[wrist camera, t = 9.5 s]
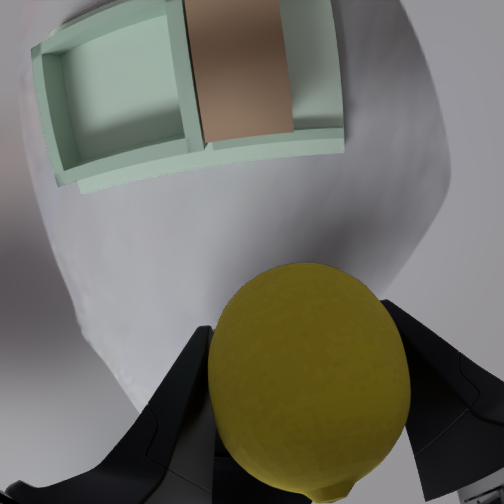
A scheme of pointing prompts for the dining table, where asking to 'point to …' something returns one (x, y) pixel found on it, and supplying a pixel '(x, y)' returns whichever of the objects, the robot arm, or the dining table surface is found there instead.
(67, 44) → the tray
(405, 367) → the lemon
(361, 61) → the dining table surface
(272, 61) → the tan rectangular block
